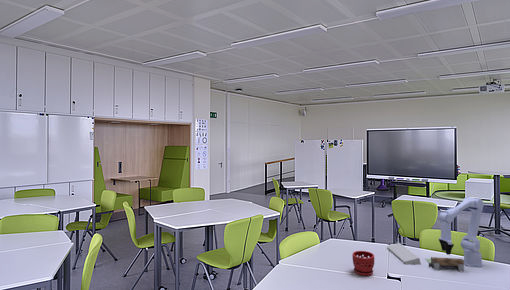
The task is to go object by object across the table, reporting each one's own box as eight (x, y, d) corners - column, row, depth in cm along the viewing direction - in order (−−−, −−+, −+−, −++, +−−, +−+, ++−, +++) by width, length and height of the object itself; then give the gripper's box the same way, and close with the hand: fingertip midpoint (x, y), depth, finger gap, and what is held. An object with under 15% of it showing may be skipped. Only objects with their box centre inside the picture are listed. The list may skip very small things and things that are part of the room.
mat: (457, 260, 221) (457, 260, 221) (462, 265, 212) (462, 264, 212) (425, 259, 225) (425, 258, 225) (429, 263, 216) (429, 263, 216)
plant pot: (348, 270, 206) (348, 252, 206) (365, 267, 210) (364, 249, 211) (361, 278, 194) (361, 258, 194) (379, 275, 198) (379, 255, 198)
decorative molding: (406, 268, 216) (421, 264, 215) (404, 261, 216) (419, 257, 215) (388, 252, 250) (401, 248, 249) (386, 246, 250) (399, 242, 249)
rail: (461, 264, 206) (461, 258, 206) (464, 266, 203) (464, 260, 203) (431, 262, 210) (430, 257, 210) (432, 264, 207) (432, 258, 207)
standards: (462, 268, 207) (462, 259, 207) (466, 271, 201) (466, 262, 202) (428, 266, 211) (428, 257, 212) (431, 269, 206) (431, 260, 206)
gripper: (435, 228, 216) (435, 248, 216) (442, 234, 202) (443, 255, 202) (447, 228, 215) (447, 249, 215) (455, 234, 201) (455, 256, 201)
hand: (446, 252), depth 208 cm, fingers open, 7 cm apart
